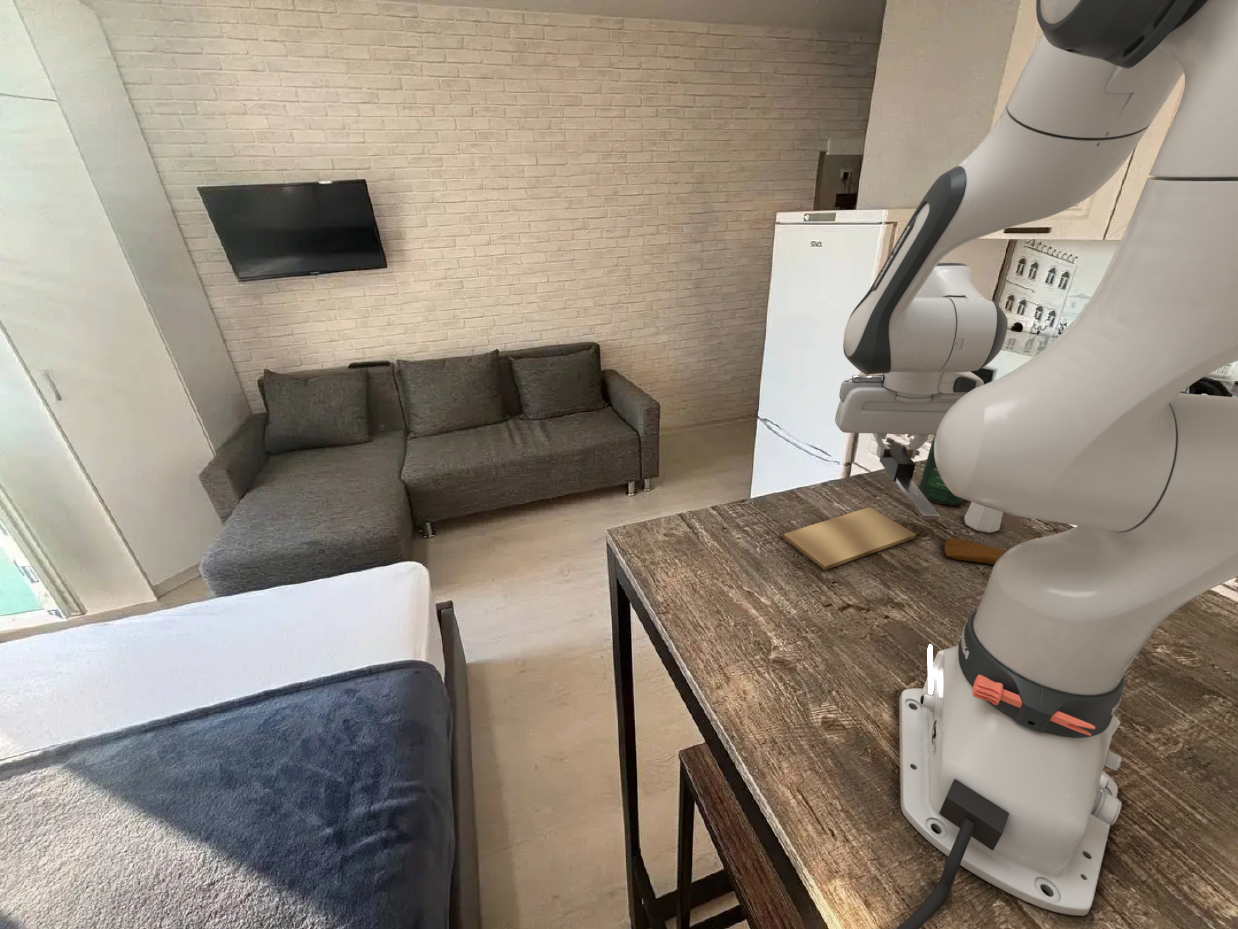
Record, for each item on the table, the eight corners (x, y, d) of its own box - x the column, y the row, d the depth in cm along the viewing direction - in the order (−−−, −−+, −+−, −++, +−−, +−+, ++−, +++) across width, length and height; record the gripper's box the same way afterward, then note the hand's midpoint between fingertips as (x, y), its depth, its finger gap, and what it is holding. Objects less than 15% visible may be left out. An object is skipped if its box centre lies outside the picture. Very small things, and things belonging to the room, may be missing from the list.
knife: (939, 520, 71) (945, 500, 69) (919, 519, 71) (925, 499, 70) (895, 461, 87) (899, 444, 86) (879, 460, 87) (882, 443, 86)
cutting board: (824, 570, 80) (825, 566, 80) (782, 537, 89) (783, 533, 88) (915, 538, 87) (916, 534, 87) (868, 510, 96) (869, 506, 95)
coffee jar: (958, 511, 94) (988, 418, 86) (912, 497, 99) (936, 407, 91) (971, 491, 100) (1000, 402, 92) (927, 479, 105) (951, 393, 97)
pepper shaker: (958, 524, 90) (976, 469, 85) (968, 513, 94) (986, 459, 89) (994, 537, 87) (1014, 480, 82) (1003, 524, 90) (1023, 469, 85)
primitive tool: (944, 557, 82) (950, 539, 81) (944, 539, 87) (949, 522, 85) (1098, 593, 74) (1107, 574, 72) (1088, 572, 78) (1097, 553, 76)
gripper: (847, 380, 76) (833, 462, 83) (996, 382, 74) (970, 467, 80) (837, 368, 82) (825, 446, 88) (975, 369, 79) (952, 450, 85)
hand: (894, 456), depth 84 cm, fingers closed on knife, 2 cm apart
